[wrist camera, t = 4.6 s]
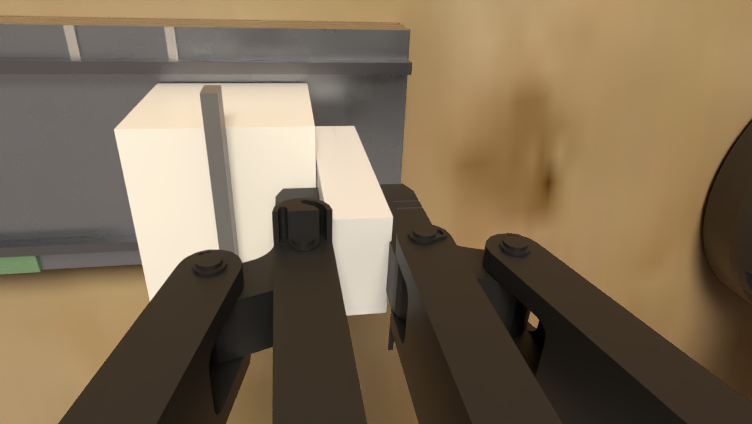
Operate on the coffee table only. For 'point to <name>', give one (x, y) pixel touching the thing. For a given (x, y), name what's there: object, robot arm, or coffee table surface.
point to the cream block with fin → (212, 167)
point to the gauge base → (132, 83)
